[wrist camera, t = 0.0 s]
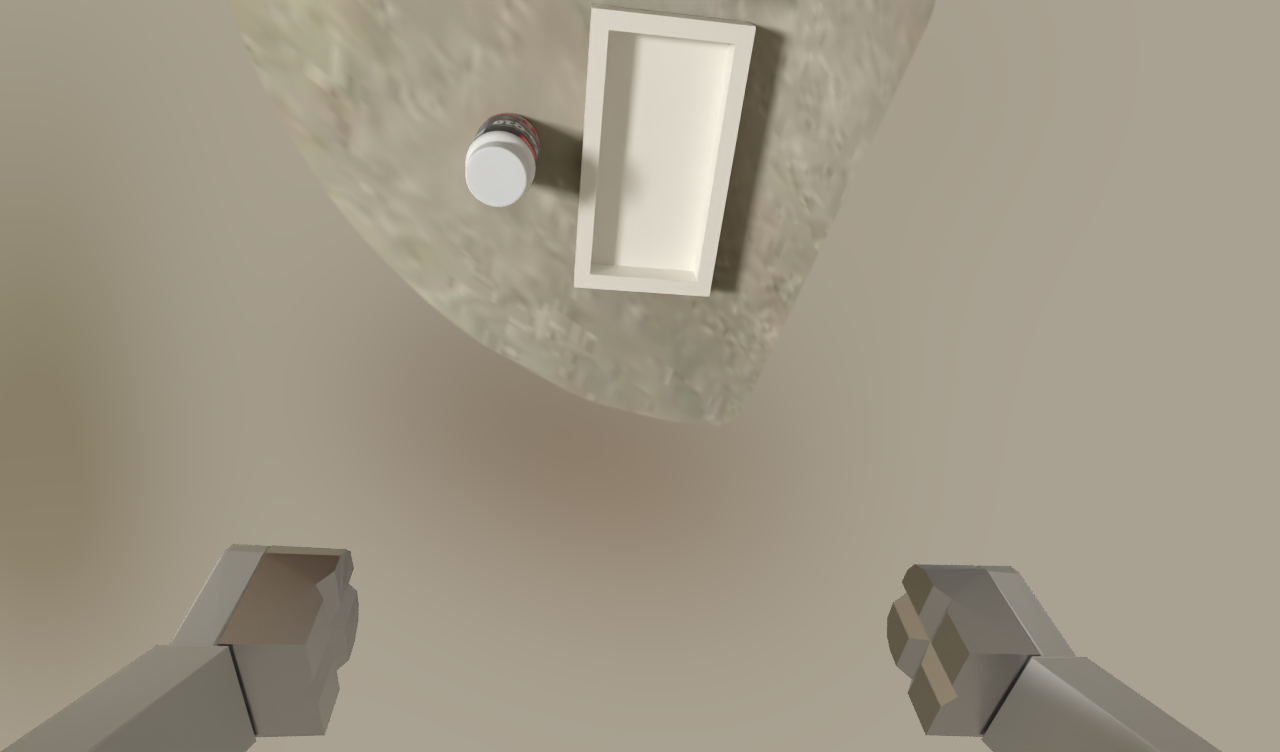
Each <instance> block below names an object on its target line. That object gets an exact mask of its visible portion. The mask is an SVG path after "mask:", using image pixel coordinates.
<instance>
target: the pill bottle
mask: <svg viewBox="0 0 1280 752" xmlns="http://www.w3.org/2000/svg"><path fill="white" fill-rule="evenodd" d="M539 155H540V141H539V137H538V135H537V132H536V131H535V129H534V128H533V126H532V125H531V124H530V123H529V122H528V121H527V120H526V119H524V118H522V117H521V116H518V115H516V114H511V113H501V114H497V115H494V116H492V117H490V118H489V119H488V120H486V121H485V122H484V123H483V124H482V126H481V127H480V129H479V131H478V132H477V134H476V136H475V138H474V140H473V142H472V143H471V145H470V147H469V149H468V152H467V155H466V162H465V166H466V172H465V176H466V182H467V185H468V187H469V189H470V191H471V193H472V194H473V195H474V196H475V197H476V198H477V199H478V200H479V201H481V202H482V203H484V204H487V205H490V206H494V207H504V206H508V205H511V204H513V203H514V202H516V201H517V200H518V199H519V198H520V197H521V196H522V195H523V194H524V193H525V192H526V191H527V190H528V189H529V187H530V186H531V184H532V182H533V180H534V177H535V173H536V168H537V163H538V159H539Z"/></svg>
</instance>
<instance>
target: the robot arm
mask: <svg viewBox="0 0 1280 752" xmlns="http://www.w3.org/2000/svg"><path fill="white" fill-rule="evenodd" d="M353 569H354V568H353V562H352V557H351V552H350V551H348V550H346V549H330V548H310V547H289V546H259V545H239V544H233V545H232V546H230V547H229V548H228V549H227V550H226V551H224V552H223V553H222V555H221V557H220V558H219V560H218V562H217V563H216V565H215V567H214V569H213V570H212V572H211V574H210V576H209V577H208V579H207V581H206V582H205V584H204V586H203V587H202V589H201V591H200V593H199V594H198V596H197V598H196V599H195V601H194V603H193V605H192V606H191V608H190V610H189V612H188V613H187V615H186V617H185V618H184V620H183V622H182V624H181V625H180V627H179V629H178V630H177V632H176V634H175V636H174V638H173V639H172V641H171V643H170V644H169V645H156V646H155V647H153V648H152V649H150V650H149V651H147V652H146V653H145V654H143V655H142V656H140V657H139V658H137V659H136V660H134V661H133V662H131V663H130V664H128V665H127V666H126V667H124V668H123V669H121V670H120V671H118V672H117V673H115V674H114V675H112V676H111V677H109V678H108V679H106V680H105V681H103V682H102V683H100V684H99V685H98V686H96V687H95V688H93V689H92V690H90V691H89V692H87V693H86V694H84V695H83V696H81V697H80V698H79V699H77V700H76V701H74V702H73V703H71V704H70V705H69V706H67V707H65V708H64V709H62V710H61V711H60V712H58V713H57V714H55V715H54V716H52V717H51V718H49V719H48V720H47V721H45V722H43V723H42V724H41V725H39V726H38V727H36V728H35V729H33V730H32V731H30V732H29V733H27V734H26V735H24V736H23V737H22V738H20V739H19V740H17V741H16V742H14V743H13V744H11V745H10V746H8V747H7V748H5V749H4V750H2V751H1V752H246V751H247V750H248V749H249V748H250V747H251V746H252V745H253V744H254V743H255V742H256V739H255V737H277V736H314V735H325V732H326V729H327V726H328V723H329V720H330V717H331V714H332V711H333V708H334V705H335V701H336V699H337V695H338V692H339V683H338V676H337V670H338V669H339V668H340V667H341V666H342V665H344V664H345V663H346V662H347V661H348V660H349V658H350V655H351V652H352V648H353V645H354V641H355V636H356V629H357V624H358V605H359V604H358V596H357V591H356V590H355V589H354V588H353V587H352V586H351V585H349V584H348V583H349V580H350V578H351V575H352V572H353ZM902 583H903V585H904V588H905V590H906V592H907V593H906V594H904V595H903V596H902V597H900V598H899V599H897V600H896V601H895V602H893V604H892V607H891V610H890V613H889V615H888V619H887V638H888V643H889V647H890V651H891V654H892V656H893V659H894V661H895V664H896V666H897V667H898V668H899V669H901V670H902V671H903V672H904V673H906V675H908V676H909V677H910V678H911V679H912V681H911V684H910V687H909V691H908V695H909V697H910V699H911V702H912V704H913V706H914V709H915V711H916V713H917V715H918V718H919V720H920V722H921V725H922V727H923V729H924V732H925V734H926V735H941V736H944V735H945V736H976V737H983V738H982V741H983V742H984V743H985V744H986V745H987V746H988V747H989V748H990V749H991V750H992V751H993V752H1221V751H1220V750H1218V749H1217V748H1215V747H1214V746H1213V745H1211V744H1209V743H1208V742H1207V741H1205V740H1204V739H1203V738H1201V737H1200V736H1198V735H1197V734H1195V733H1194V732H1193V731H1191V730H1190V729H1188V728H1187V727H1185V726H1184V725H1182V724H1181V723H1179V722H1178V721H1177V720H1175V719H1174V718H1173V717H1171V716H1170V715H1168V714H1167V713H1165V712H1164V711H1163V710H1161V709H1160V708H1158V707H1157V706H1155V705H1154V704H1153V703H1151V702H1150V701H1148V700H1147V699H1145V698H1144V697H1143V696H1141V695H1140V694H1138V693H1137V692H1135V691H1134V690H1132V689H1131V688H1130V687H1128V686H1127V685H1125V684H1124V683H1123V682H1121V681H1120V680H1118V679H1116V678H1115V677H1114V676H1112V675H1111V674H1110V673H1108V672H1107V671H1105V670H1104V669H1102V668H1101V667H1100V666H1098V665H1097V664H1095V663H1094V662H1092V661H1091V660H1090V659H1088V658H1087V657H1076V655H1075V654H1074V652H1073V651H1072V649H1071V648H1070V647H1069V645H1068V644H1067V642H1066V641H1065V639H1064V638H1063V636H1062V635H1061V633H1060V632H1059V630H1058V629H1057V628H1056V626H1055V625H1054V623H1053V622H1052V620H1051V619H1050V617H1049V616H1048V614H1047V613H1046V611H1045V610H1044V608H1043V607H1042V605H1041V604H1040V602H1039V601H1038V600H1037V598H1036V597H1035V595H1034V594H1033V592H1032V591H1031V589H1030V588H1029V586H1028V585H1027V583H1026V582H1025V580H1024V579H1023V578H1022V576H1021V575H1020V574H1019V572H1018V571H1016V570H1015V569H1013V568H1012V567H1011V566H973V565H917V564H916V565H913V566H912V567H911V568H909V569H908V570H907V572H906V574H905V576H904V579H903V581H902Z"/></svg>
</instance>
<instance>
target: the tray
mask: <svg viewBox="0 0 1280 752" xmlns="http://www.w3.org/2000/svg"><path fill="white" fill-rule="evenodd" d="M755 31H756V26H755V25H753V24H751V23H749V22H746V21H737V20H728V19H720V18H711V17H702V16H693V15H685V14H676V13H667V12H658V11H650V10H641V9H632V8H623V7H615V6H606V5H597V4H591V20H590V35H589V51H588V67H587V82H586V98H585V114H584V129H583V145H582V160H581V176H580V192H579V207H578V223H577V238H576V254H575V270H574V287H578V288H592V289H606V290H621V291H635V292H650V293H664V294H678V295H693V296H707V297H709V295H710V289H711V284H712V278H713V272H714V266H715V261H716V255H717V249H718V243H719V238H720V232H721V226H722V220H723V215H724V209H725V203H726V197H727V192H728V186H729V180H730V174H731V169H732V163H733V157H734V151H735V146H736V140H737V134H738V128H739V123H740V117H741V111H742V105H743V100H744V94H745V88H746V82H747V77H748V71H749V65H750V59H751V54H752V48H753V42H754V36H755Z"/></svg>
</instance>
